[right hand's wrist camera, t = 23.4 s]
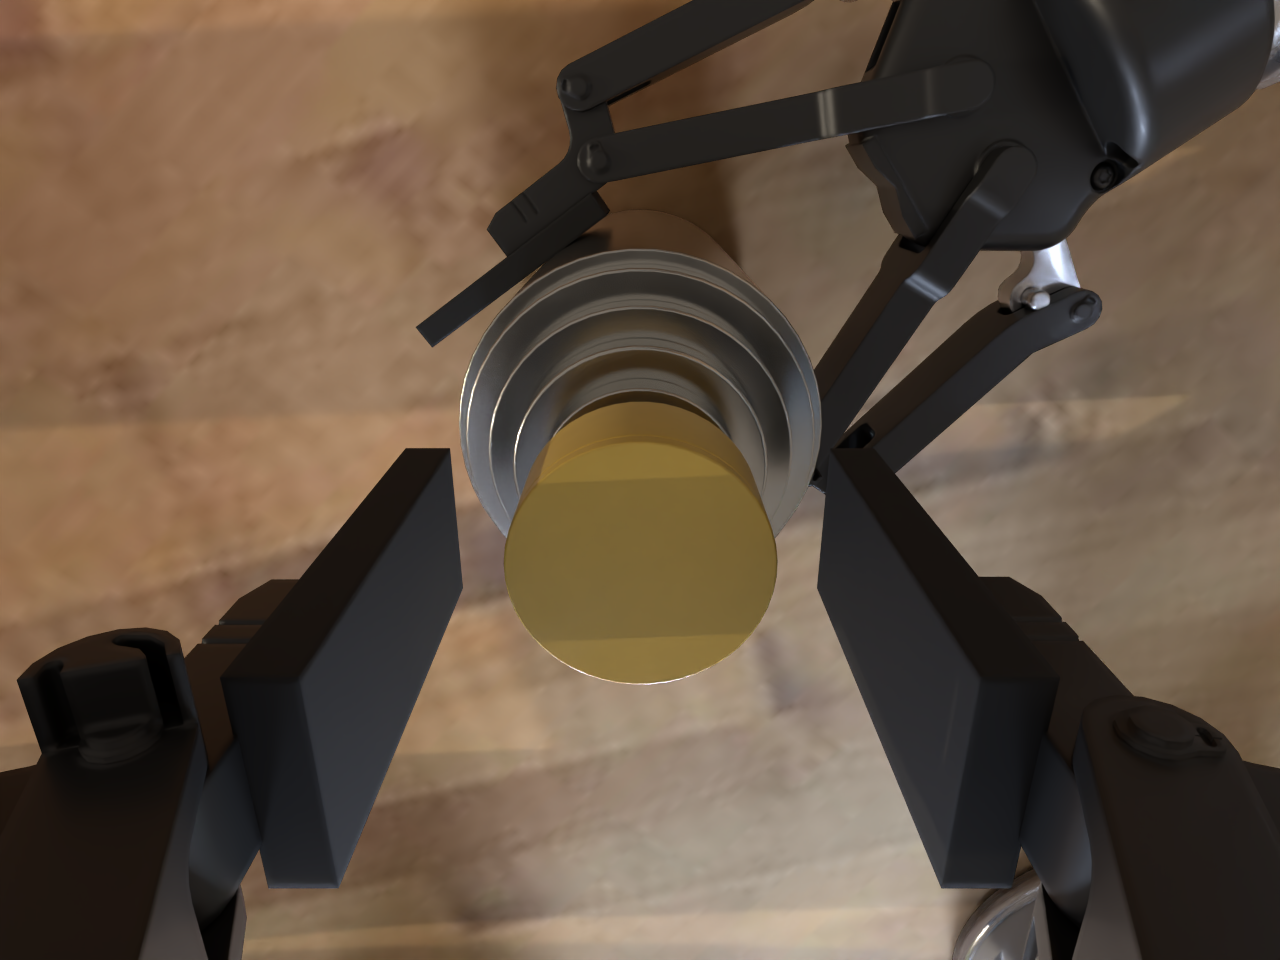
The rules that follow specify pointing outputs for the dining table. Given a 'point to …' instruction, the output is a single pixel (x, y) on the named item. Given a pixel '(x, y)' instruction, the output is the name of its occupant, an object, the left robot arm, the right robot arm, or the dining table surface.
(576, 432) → the cap
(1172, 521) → the dining table surface
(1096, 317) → the left robot arm
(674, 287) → the bottle
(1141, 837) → the right robot arm
